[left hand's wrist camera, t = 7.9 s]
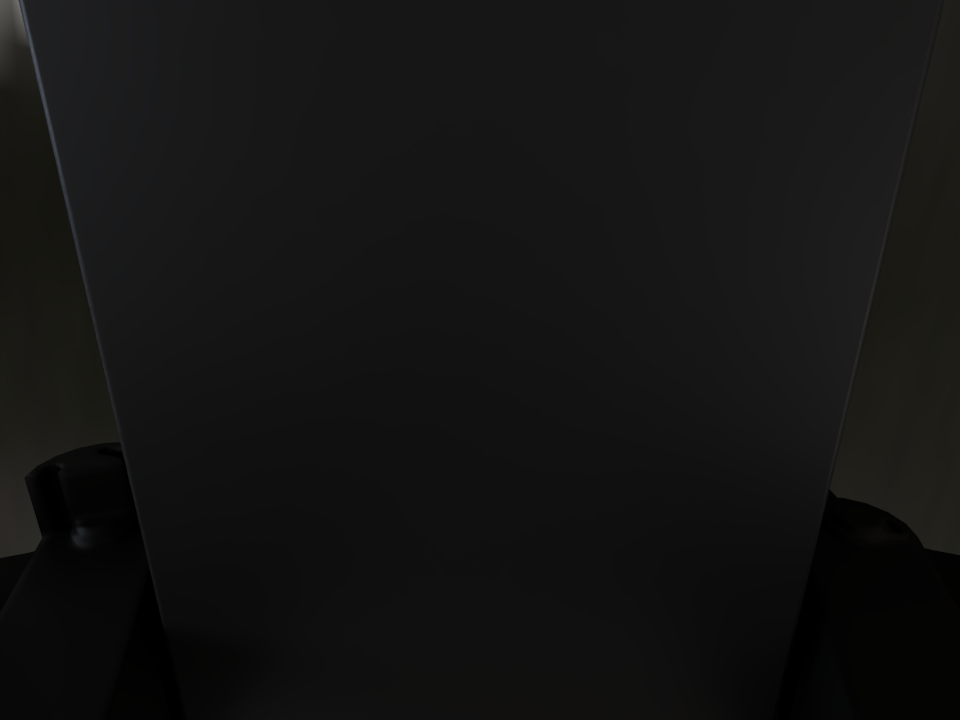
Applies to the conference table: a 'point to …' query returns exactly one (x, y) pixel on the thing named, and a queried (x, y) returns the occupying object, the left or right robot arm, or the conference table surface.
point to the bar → (480, 333)
